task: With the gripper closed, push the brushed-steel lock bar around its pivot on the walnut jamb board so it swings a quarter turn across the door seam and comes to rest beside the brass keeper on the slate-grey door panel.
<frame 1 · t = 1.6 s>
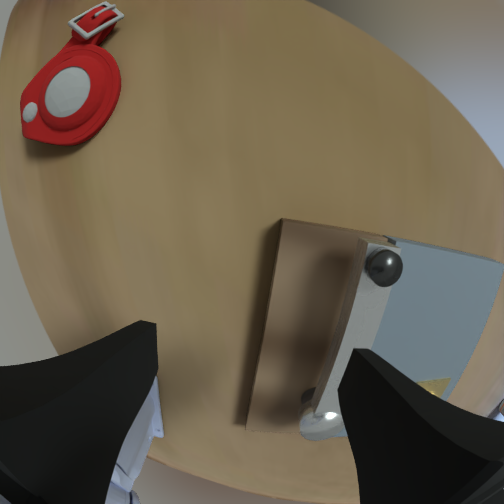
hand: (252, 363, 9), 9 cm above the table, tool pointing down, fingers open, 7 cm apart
jamb board: (305, 345, 19), on the table
tracker holder: (90, 79, 15), on the table
brass keeper: (408, 398, 21), resting on door panel
lock bar: (347, 362, 15), point 4 cm above the table, hinge at 0.0°
door panel: (415, 348, 19), on the table
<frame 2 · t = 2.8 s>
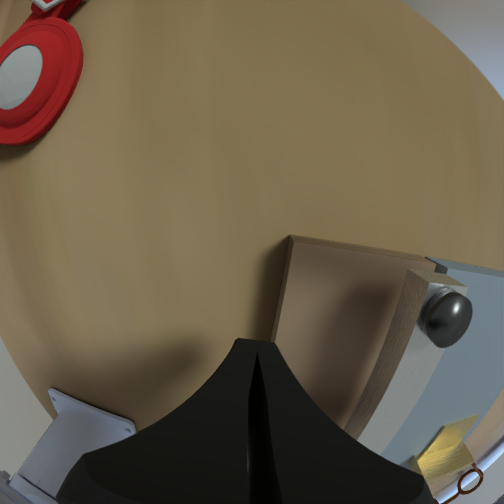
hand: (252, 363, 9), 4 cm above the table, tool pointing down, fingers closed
jamb board: (317, 397, 14), on the table
tracker holder: (51, 61, 10), on the table
brass keeper: (429, 436, 15), resting on door panel
glasses: (435, 482, 20), on the table
lock bar: (374, 431, 9), point 4 cm above the table, hinge at 0.0°
door panel: (444, 387, 14), on the table
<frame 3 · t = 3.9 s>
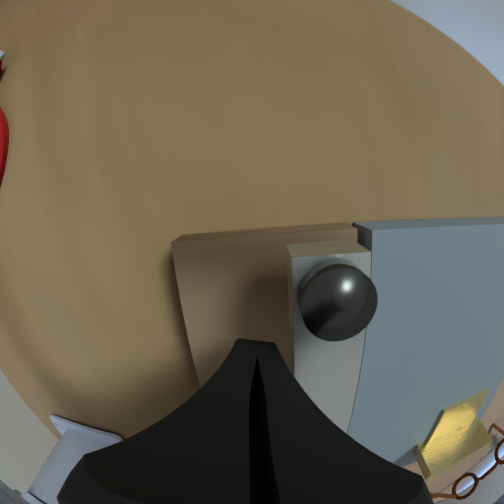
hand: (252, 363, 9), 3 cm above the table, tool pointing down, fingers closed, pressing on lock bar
jamb board: (274, 396, 13), on the table
brass keeper: (437, 418, 14), resting on door panel
glasses: (468, 457, 18), on the table
lock bar: (318, 435, 8), point 4 cm above the table, hinge at 0.0°, touching gripper
door panel: (437, 365, 13), on the table
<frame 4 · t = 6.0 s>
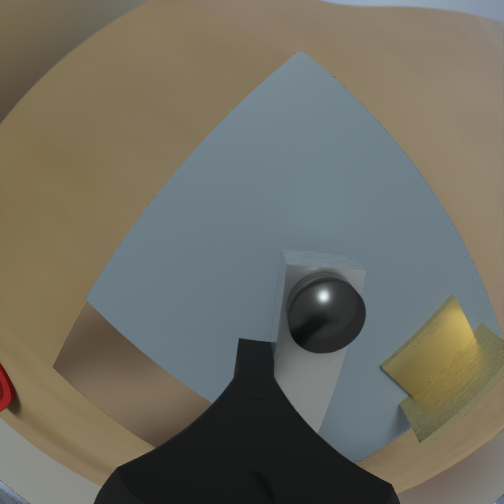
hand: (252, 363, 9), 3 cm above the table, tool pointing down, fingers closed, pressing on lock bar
jamb board: (201, 421, 14), on the table
brass keeper: (429, 349, 12), resting on door panel
lock bar: (284, 442, 8), point 4 cm above the table, hinge at 51.3°, touching gripper
door panel: (337, 319, 12), on the table
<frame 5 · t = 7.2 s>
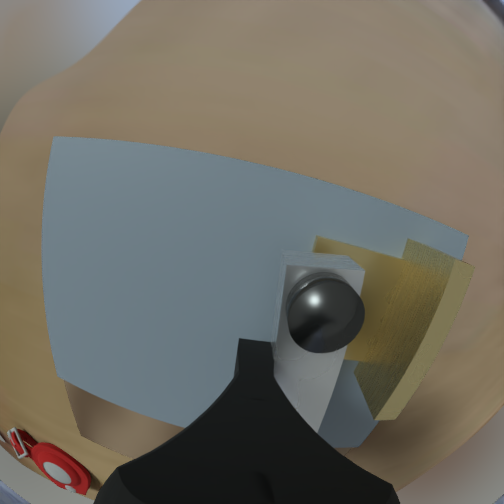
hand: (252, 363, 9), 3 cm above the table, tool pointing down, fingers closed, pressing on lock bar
jamb board: (201, 440, 14), on the table
tracker holder: (55, 451, 19), on the table
brass keeper: (374, 294, 11), resting on door panel
lock bar: (283, 442, 9), point 4 cm above the table, hinge at 81.4°, touching gripper
door panel: (229, 314, 12), on the table
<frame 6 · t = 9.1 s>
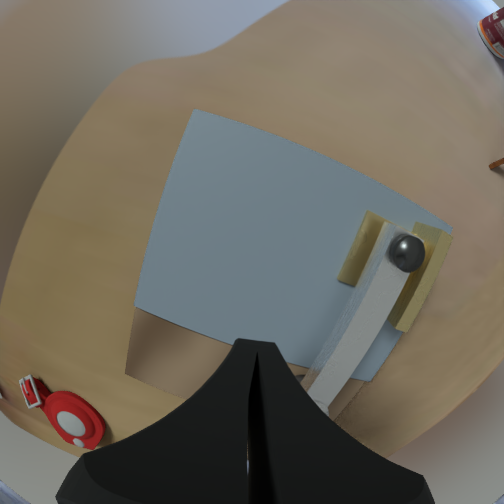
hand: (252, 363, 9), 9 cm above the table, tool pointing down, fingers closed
jamb board: (243, 374, 20), on the table
tracker holder: (69, 402, 23), on the table
brass keeper: (389, 258, 17), resting on door panel
lock bar: (347, 348, 14), point 4 cm above the table, hinge at 89.7°
door panel: (297, 259, 17), on the table
pill bottle: (490, 40, 11), on the table
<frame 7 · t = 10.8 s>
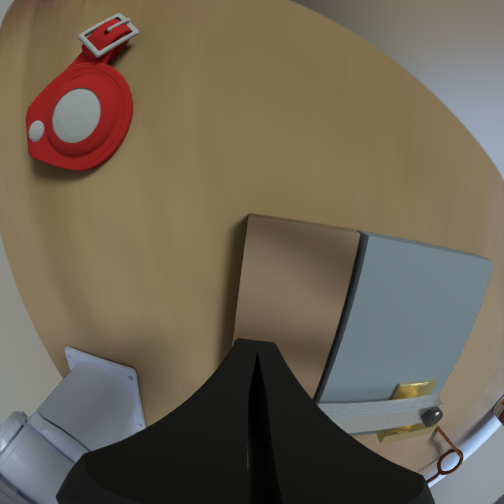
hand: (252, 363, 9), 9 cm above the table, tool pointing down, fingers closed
jamb board: (279, 343, 19), on the table
tracker holder: (100, 99, 16), on the table
brass keeper: (393, 400, 21), resting on door panel
glasses: (412, 459, 25), on the table
lock bar: (367, 420, 16), point 4 cm above the table, hinge at 89.7°
door panel: (397, 349, 19), on the table
pill bottle: (502, 400, 22), on the table
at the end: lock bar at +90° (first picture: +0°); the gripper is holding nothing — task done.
